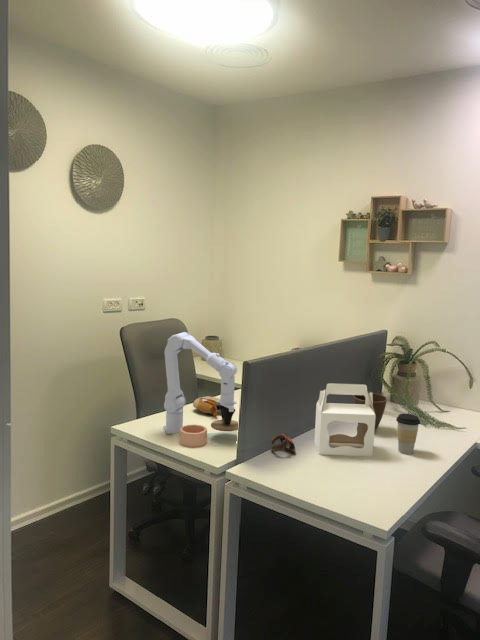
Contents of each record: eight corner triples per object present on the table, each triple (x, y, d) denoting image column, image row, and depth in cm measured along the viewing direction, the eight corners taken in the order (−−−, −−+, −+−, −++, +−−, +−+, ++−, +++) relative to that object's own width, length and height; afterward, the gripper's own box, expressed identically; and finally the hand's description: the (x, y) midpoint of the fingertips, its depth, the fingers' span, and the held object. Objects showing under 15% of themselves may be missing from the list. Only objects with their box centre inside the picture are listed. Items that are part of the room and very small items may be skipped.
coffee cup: (402, 456, 204) (405, 421, 202) (389, 447, 213) (392, 413, 211) (422, 455, 207) (425, 419, 205) (408, 446, 216) (411, 412, 214)
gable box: (365, 444, 216) (370, 380, 213) (373, 456, 203) (378, 389, 200) (313, 442, 216) (317, 378, 213) (318, 454, 203) (322, 387, 200)
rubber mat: (204, 434, 221) (204, 433, 221) (237, 432, 226) (237, 430, 225) (213, 447, 207) (213, 446, 207) (247, 444, 211) (248, 443, 211)
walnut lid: (207, 422, 220) (207, 414, 219) (236, 420, 224) (236, 413, 223) (215, 432, 207) (215, 424, 207) (245, 430, 211) (245, 422, 211)
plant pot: (391, 434, 230) (393, 400, 227) (363, 437, 224) (366, 402, 222) (371, 423, 243) (373, 391, 241) (345, 426, 238) (347, 393, 236)
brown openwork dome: (298, 458, 200) (289, 442, 197) (276, 466, 202) (267, 450, 199) (297, 440, 211) (288, 425, 208) (276, 447, 213) (268, 432, 211)
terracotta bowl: (177, 439, 214) (177, 425, 214) (202, 437, 218) (203, 423, 217) (182, 449, 204) (183, 434, 203) (209, 446, 207) (209, 432, 207)
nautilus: (227, 422, 240) (196, 424, 238) (221, 405, 261) (192, 407, 258) (227, 406, 238) (195, 408, 236) (221, 391, 259) (191, 393, 257)
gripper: (241, 396, 208) (240, 428, 210) (231, 387, 221) (230, 416, 223) (225, 397, 206) (223, 429, 207) (216, 387, 219) (215, 417, 221)
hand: (226, 423), depth 215 cm, fingers closed on walnut lid, 3 cm apart
